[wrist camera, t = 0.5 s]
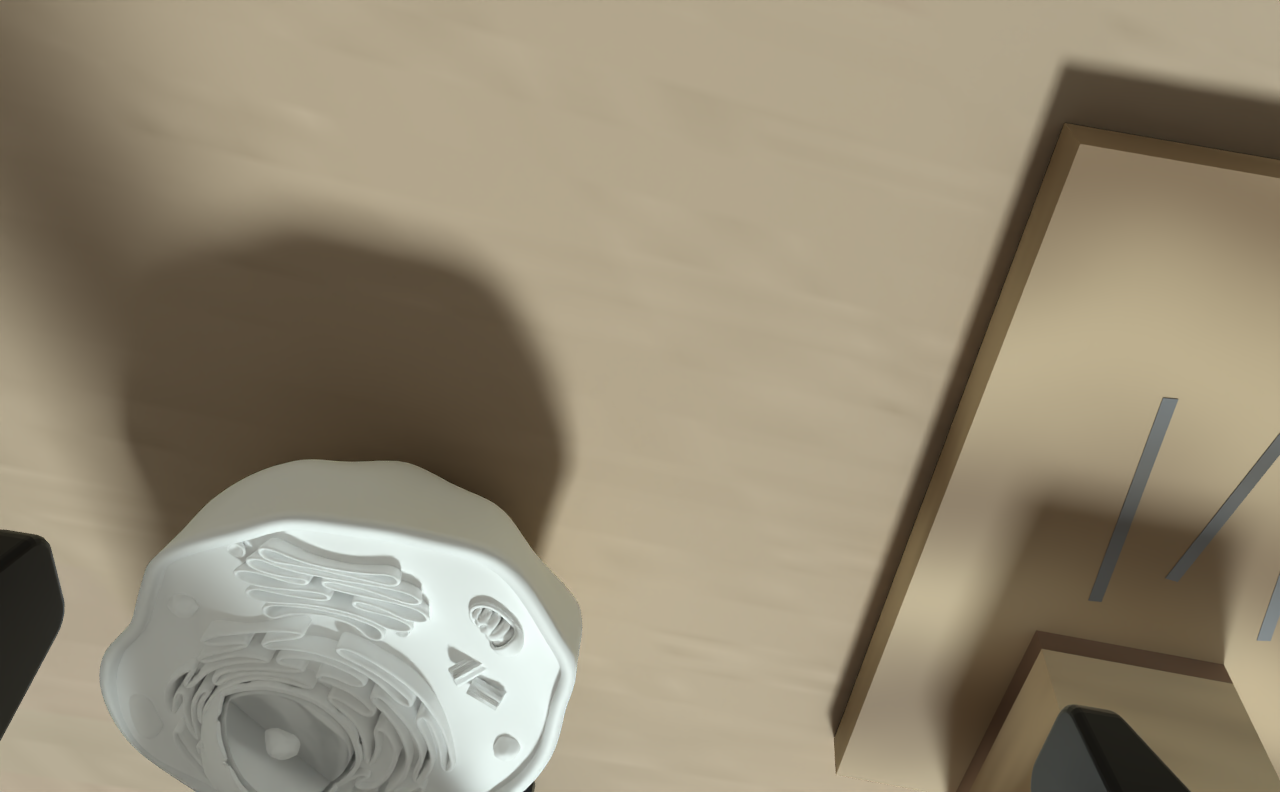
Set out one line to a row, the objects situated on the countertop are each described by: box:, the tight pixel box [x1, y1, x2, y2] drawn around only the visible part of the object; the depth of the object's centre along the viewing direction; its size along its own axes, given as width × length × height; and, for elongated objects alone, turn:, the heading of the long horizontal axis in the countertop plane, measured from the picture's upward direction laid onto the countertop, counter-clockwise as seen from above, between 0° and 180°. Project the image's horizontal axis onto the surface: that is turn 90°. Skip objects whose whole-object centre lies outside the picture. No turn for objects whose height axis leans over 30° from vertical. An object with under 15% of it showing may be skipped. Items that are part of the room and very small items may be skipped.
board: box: [834, 123, 1280, 792], centre depth 24 cm, size 18×11×1 cm, turn 172°
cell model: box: [100, 459, 582, 792], centre depth 24 cm, size 10×12×7 cm
